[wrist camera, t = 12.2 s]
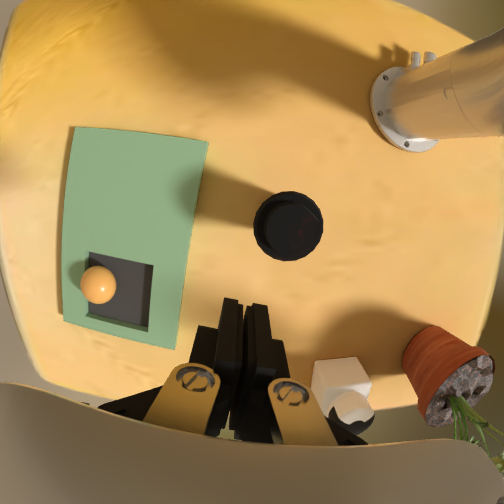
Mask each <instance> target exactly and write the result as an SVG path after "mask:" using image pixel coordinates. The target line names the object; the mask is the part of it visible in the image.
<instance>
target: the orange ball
mask: <svg viewBox="0 0 504 504" xmlns="http://www.w3.org/2000/svg"><path fill="white" fill-rule="evenodd" d="M80 286H81V291H82V293H83V295H84V297H85V298H86V299H87V300H88V301H90V302H92V303H95V304H103V303H106V302H108V301H109V300H110V299H111V298H112V297H113V296H114V294H115V291H116V280H115V277H114V275H113V274H112V272H111V271H110V270H108V269H107V268H105V267H103V266H93V267H91V268H89V269H87V270H86V271H85V272H84V274H83V275H82V278H81V283H80Z"/></svg>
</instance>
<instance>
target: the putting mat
mask: <svg viewBox="0 0 504 504" xmlns="http://www.w3.org/2000/svg"><path fill="white" fill-rule="evenodd" d="M208 145H209V143H208V142H206V141H200V140H194V139H188V138H181V137H174V136H167V135H159V134H151V133H143V132H134V131H124V130H113V129H101V128H86V127H75V131H74V136H73V141H72V147H71V153H70V159H69V166H68V173H67V181H66V189H65V199H64V211H63V226H62V253H61V275H62V303H63V318H64V321H65V322H68V323H72V324H75V325H78V326H81V327H85V328H88V329H92V330H95V331H99V332H102V333H106V334H109V335H113V336H117V337H121V338H125V339H129V340H133V341H137V342H141V343H145V344H150V345H154V346H159V347H163V348H168V349H173V350H175V347H176V342H177V333H178V325H179V316H180V308H181V301H182V293H183V286H184V279H185V272H186V265H187V259H188V252H189V246H190V240H191V234H192V228H193V222H194V216H195V211H196V205H197V200H198V194H199V189H200V184H201V179H202V173H203V169H204V164H205V159H206V154H207V149H208ZM93 266H103V267H105V268H107V269H108V270H110V271H111V272H112V274H113V275H114V277H115V280H116V291H115V294H114V296H113V297H112V298H111V299H110V300H109V301H108V302H106V303H103V304H95V303H92V302H90V301H88V300H87V299H86V298H85V297H84V295H83V293H82V291H81V286H80V283H81V278H82V275H83V274H84V272H85V271H86V270H87V269H89V268H91V267H93Z"/></svg>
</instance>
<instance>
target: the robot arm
mask: <svg viewBox="0 0 504 504" xmlns="http://www.w3.org/2000/svg"><path fill="white" fill-rule="evenodd" d="M423 63H424V65H421V66H419V64H420V54H419V53H418V52H411V64H410V65H409V66H407V67H401V66H399V67H392V68H389V69H387V70H385V71H384V72H382V73H381V74H380V75H379V76H377V78H376V79H375V81H374V83H373V85H372V88H371V93H370V106H371V111H372V115H373V118H374V121H375V123H376V125H377V127H378V128H379V130H380V131H381V133H382V134H383V135H384V137H385V138H386V139H387V140H388V141H389V142H390V143H391V144H393V145H394V146H396V147H397V148H399V149H401V150H404V151H407V152H425V151H427V150H430V149H431V148H433V147H434V146H435V145H436V144H437V143H438V142H439V140H441V139H456V138H475V137H500V136H504V28H502V29H501V30H499V31H497V32H495V33H493V34H492V35H490V36H487V37H485V38H483V39H481V40H478V41H476V42H474V43H471V44H469V45H467V46H464V47H462V48H460V49H458V50H455V51H453V52H451V53H448V54H446V55H444V56H441V57H439V58H437V59H436V55H435V54H434V53H432V52H425V53H424V62H423ZM378 114H379V116H378ZM404 144H405V146H404ZM229 411H230V417H229V430H234V439H237V440H231V439H223V438H217V436H218V435H219V434H220V430H221V429H224V428H225V425H226V422H227V418H228V415H229ZM238 440H242V441H238ZM0 504H504V478H503V476H502V475H501V473H500V472H499V470H498V469H497V467H496V466H495V464H494V463H493V461H492V460H491V459H490V457H489V456H488V455H487V454H486V453H485V452H484V450H482V448H480V447H479V446H478V445H476V444H473V443H470V442H467V441H462V440H456V439H428V440H419V441H408V442H398V443H388V444H372V445H368V444H367V443H366V442H365V441H364V440H362V439H361V438H359V437H358V436H356V435H354V434H353V433H351V432H350V431H348V430H346V429H345V428H343V427H341V426H340V425H338V424H337V423H335V422H334V421H332V420H330V419H329V418H327V417H326V416H324V414H323V412H322V410H321V408H320V406H319V404H318V402H317V400H316V398H315V396H314V394H313V392H312V390H311V389H310V388H309V387H308V386H307V385H306V384H304V383H302V382H300V381H298V380H295V379H290V374H289V369H288V364H287V359H286V354H285V348H284V343H283V341H282V340H276V339H272V335H271V328H270V321H269V314H268V307H267V305H261V304H256V303H253V304H252V306H247V307H246V311H245V315H244V319H243V305H242V304H238V300H235V299H230V298H225V297H224V301H223V306H222V311H221V316H220V321H219V326H218V329H215V328H210V327H205V326H200V325H199V326H198V329H197V333H196V336H195V340H194V344H193V348H192V352H191V355H190V359H189V363H185V364H181V365H179V366H177V367H175V368H174V369H173V370H172V372H171V373H170V375H169V377H168V378H167V380H166V382H165V383H164V385H163V386H160V387H157V388H154V389H151V390H148V391H145V392H141V393H138V394H135V395H132V396H129V397H125V398H122V399H119V400H115V401H112V402H108V403H105V404H103V405H101V406H99V407H98V408H95V407H92V406H90V404H89V403H83V402H78V401H75V400H72V399H69V398H67V397H64V396H61V395H58V394H56V393H52V392H50V391H46V390H43V389H40V388H37V387H33V386H29V385H25V384H20V383H13V382H5V381H0Z"/></svg>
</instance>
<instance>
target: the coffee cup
mask: <svg viewBox="0 0 504 504" xmlns="http://www.w3.org/2000/svg"><path fill="white" fill-rule="evenodd" d="M253 224H254V236H255V238H256V241H257V244H258V245H259V247H260V248H261V249H262V250H263V251H264V253H266V254H267V255H269V256H270V257H272V258H274V259H277V260H281V261H295V260H298V259H301V258H303V257H305V256H307V255H308V254H309V253H311V252H312V251H313V250H314V249H315V247H316V246H317V245H318V243H319V242H320V239H321V236H322V233H323V218H322V215H321V211H320V209H319V208H318V206H317V205H316V204H315V202H314V201H313V200H312V199H310V198H309V197H307V196H306V195H304V194H301V193H298V192H295V191H287V192H280V193H278V194H275V195H272V196H271V197H269V198H268V199H267V200H266V201H264V202H263V203H262V205H261V206H260V208H259V209H258V211H257V212H256V216H255V219H254V223H253Z"/></svg>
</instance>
